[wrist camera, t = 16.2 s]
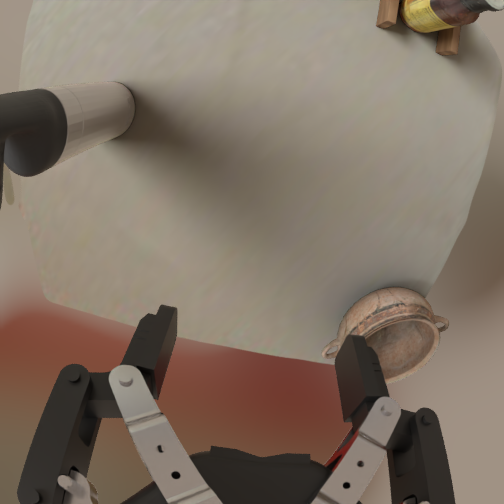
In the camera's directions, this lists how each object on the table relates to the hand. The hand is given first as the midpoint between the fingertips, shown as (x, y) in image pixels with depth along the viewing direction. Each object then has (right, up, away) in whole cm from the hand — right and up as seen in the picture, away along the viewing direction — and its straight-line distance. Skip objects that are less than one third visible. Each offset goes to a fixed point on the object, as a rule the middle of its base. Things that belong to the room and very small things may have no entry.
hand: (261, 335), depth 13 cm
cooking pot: (+24, -7, +42) cm, 49 cm away
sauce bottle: (+23, +38, +15) cm, 47 cm away
